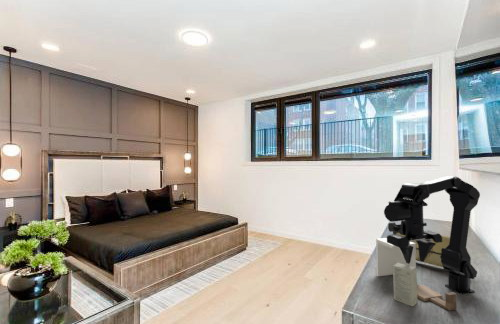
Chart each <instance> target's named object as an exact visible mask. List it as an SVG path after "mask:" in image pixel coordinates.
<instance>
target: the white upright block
mask: <svg viewBox="0 0 500 324" xmlns="http://www.w3.org/2000/svg"><path fill="white" fill-rule="evenodd" d="M375 244H376V247H375V248H376V250H375V251H376V255H375V256H376V276H377V277H382V276H383V277H385V276H393V265H394V264H396V263H397V262H398V263H402V264H406V265H409V266H413V267H416V268H417V264H416V263H417V261H416V243H413V242H410V246H412V247H413V252H412V256H411V261H410V264H408V263H406V261H405V259H404V256H403V254H402V251H401V250H400V248H399V247H397V246H395V245H392V244H390V243H387V237H380V238H375Z"/></svg>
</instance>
